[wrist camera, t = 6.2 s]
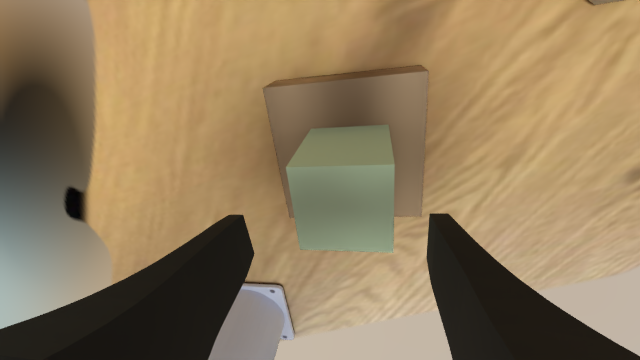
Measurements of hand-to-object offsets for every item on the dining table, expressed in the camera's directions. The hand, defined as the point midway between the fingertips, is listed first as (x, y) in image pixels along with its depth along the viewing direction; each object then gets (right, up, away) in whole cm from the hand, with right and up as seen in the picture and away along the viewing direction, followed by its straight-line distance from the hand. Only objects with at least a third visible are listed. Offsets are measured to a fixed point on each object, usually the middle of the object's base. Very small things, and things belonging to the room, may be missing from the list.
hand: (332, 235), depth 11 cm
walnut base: (+2, +5, +9) cm, 10 cm away
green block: (+1, +3, +6) cm, 7 cm away
